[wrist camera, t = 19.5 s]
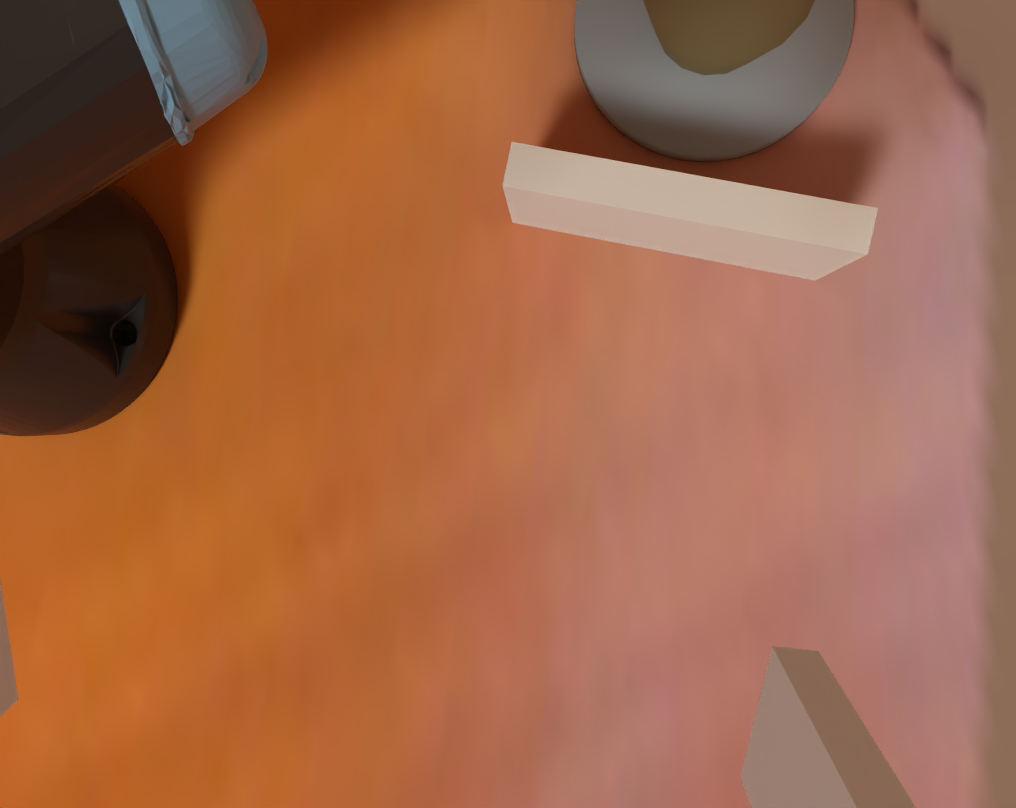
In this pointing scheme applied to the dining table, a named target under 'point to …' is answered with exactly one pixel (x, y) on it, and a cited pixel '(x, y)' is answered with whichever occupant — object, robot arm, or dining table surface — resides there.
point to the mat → (706, 82)
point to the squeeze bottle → (723, 30)
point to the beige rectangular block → (684, 213)
